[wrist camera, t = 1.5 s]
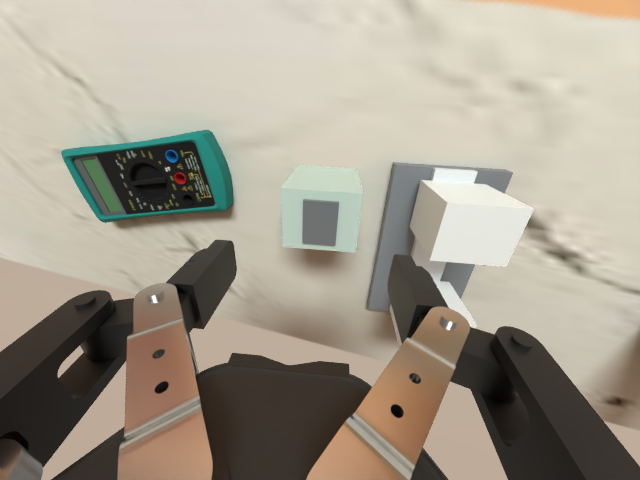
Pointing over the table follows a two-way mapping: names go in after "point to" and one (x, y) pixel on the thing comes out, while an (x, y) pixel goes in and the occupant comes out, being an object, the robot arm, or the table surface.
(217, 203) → the digital multimeter
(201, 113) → the table surface
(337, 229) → the block
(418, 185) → the rail panel
